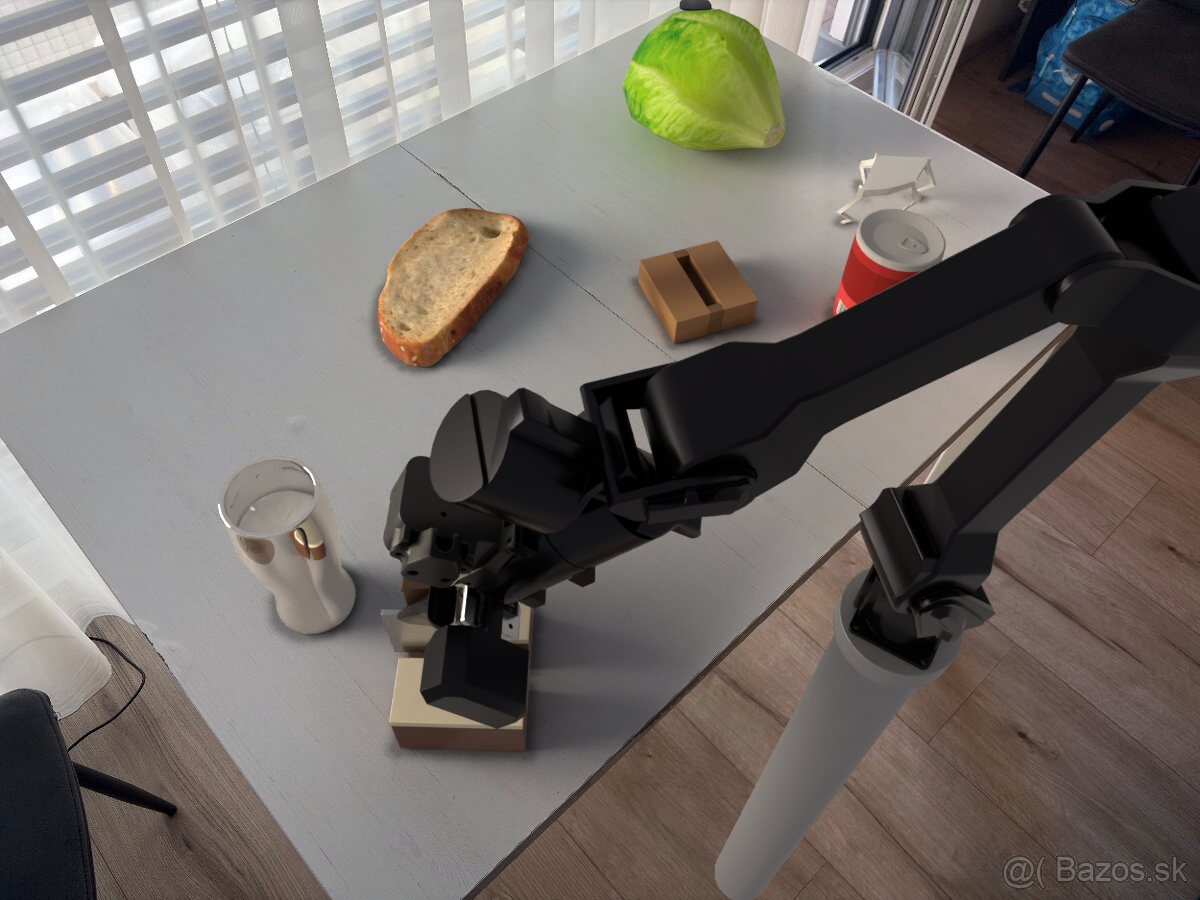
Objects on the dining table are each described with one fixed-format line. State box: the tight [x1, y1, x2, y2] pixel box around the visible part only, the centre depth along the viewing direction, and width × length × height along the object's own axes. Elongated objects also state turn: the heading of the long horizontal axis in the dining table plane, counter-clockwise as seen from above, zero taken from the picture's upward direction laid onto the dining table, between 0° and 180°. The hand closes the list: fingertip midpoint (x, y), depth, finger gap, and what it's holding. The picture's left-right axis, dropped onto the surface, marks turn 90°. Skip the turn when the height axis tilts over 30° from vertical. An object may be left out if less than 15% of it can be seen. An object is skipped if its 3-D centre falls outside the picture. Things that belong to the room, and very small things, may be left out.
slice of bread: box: [377, 207, 530, 368], centre depth 95 cm, size 18×18×4 cm
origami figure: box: [836, 152, 937, 225], centre depth 103 cm, size 12×8×5 cm
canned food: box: [832, 208, 947, 317], centre depth 91 cm, size 8×8×11 cm
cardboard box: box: [637, 240, 759, 345], centre depth 95 cm, size 9×9×3 cm
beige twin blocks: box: [388, 583, 535, 752], centre depth 71 cm, size 9×11×5 cm
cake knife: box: [380, 576, 438, 654], centre depth 64 cm, size 6×2×11 cm, turn 89°
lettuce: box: [621, 8, 786, 152], centre depth 107 cm, size 15×20×14 cm
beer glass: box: [218, 454, 357, 635], centre depth 70 cm, size 7×7×15 cm
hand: (404, 605), depth 63 cm, fingers closed on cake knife, 2 cm apart
